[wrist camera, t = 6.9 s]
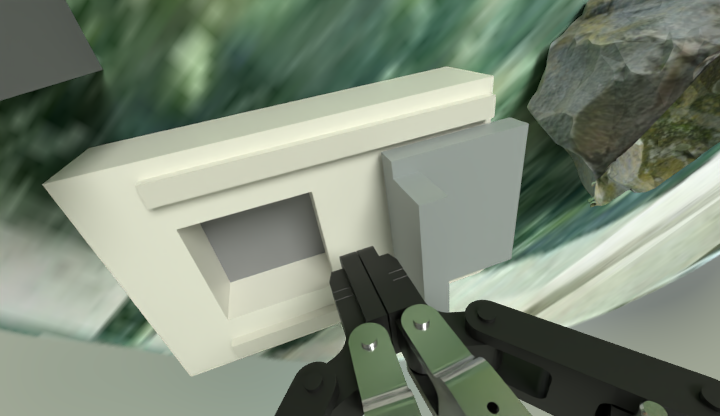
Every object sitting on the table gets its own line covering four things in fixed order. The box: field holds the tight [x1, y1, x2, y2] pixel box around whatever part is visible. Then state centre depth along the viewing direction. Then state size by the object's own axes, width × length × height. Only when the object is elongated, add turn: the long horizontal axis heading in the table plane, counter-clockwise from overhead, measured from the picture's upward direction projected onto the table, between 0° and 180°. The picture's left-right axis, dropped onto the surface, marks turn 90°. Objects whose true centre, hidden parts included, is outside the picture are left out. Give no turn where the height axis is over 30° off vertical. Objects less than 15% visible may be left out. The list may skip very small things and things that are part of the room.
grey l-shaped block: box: [381, 117, 529, 313], centre depth 15 cm, size 8×7×4 cm
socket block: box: [42, 67, 496, 376], centre depth 17 cm, size 12×18×4 cm, turn 99°
